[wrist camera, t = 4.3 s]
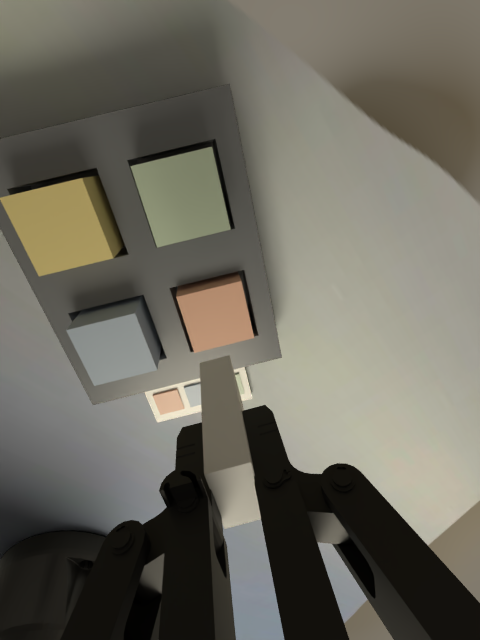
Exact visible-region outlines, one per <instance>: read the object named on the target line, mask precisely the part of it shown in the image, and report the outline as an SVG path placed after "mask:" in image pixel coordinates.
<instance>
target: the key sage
mask: <svg viewBox="0 0 480 640" xmlns="http://www.w3.org/2000/svg"><path fill="white" fill-rule="evenodd" d="M130 167H131V170H132V173H133V176H134V179H135V182H136V185H137V188H138V191H139V194H140V197H141V200H142V203H143V206H144V209H145V212H146V215H147V218H148V221H149V224H150V227H151V231H152V234H153V237H154V240H155V243H156V246H157V248H158V247H162V246H166V245H170V244H174V243H178V242H182V241H186V240H190V239H194V238H198V237H202V236H207V235H211V234H215V233H219V232H223V231H227V230H231V229H230V224H229V220H228V215H227V211H226V206H225V202H224V198H223V193H222V189H221V184H220V180H219V175H218V171H217V166H216V162H215V158H214V153H213V149H212V147H208V148H204V149H200V150H196V151H192V152H187V153H183V154H179V155H175V156H171V157H167V158H163V159H158V160H154V161H150V162H146V163H142V164H138V165H134V166H130Z"/></svg>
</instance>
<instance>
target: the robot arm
mask: <svg viewBox="0 0 480 640" xmlns="http://www.w3.org/2000/svg"><path fill="white" fill-rule="evenodd" d="M200 385H201V409H202V423H198V424H194V425H190V426H186V427H183V428H182V429H181V431H180V433H179V435H178V437H177V448H176V449H177V450H176V467H175V471H173V472H171V473H170V474H169V475H168V476H166V478H165V479H164V481H163V482H162V483H161V487H160V490H159V491H160V494H161V496H162V498H163V500H164V502H165V504H166V506H167V508H166V509H165V510H164V511H163V512H162V513H160V514H159V515H158V516H156V517H155V518H153V519H151V520H149V521H148V522H146V523H144V524H143V525H142V524H141V523H140V522H139V521H134V520H130V521H126V522H123V523H121V524H119V525H118V526H116V527H115V528H114V529H113V530H112V531H111V532H110V533H109V534H108V535H107V537H103V536H100V535H96V534H91V533H86V532H76V531H61V532H51V533H45V534H41V535H37V536H34V537H31V538H28V539H26V540H23V541H21V542H19V543H18V544H16V545H14V546H13V547H12V548H10V549H9V550H8V551H7V552H6V553H5V554H4V555H3V557H2V558H1V560H0V640H158V639H159V640H236V637H235V626H234V616H233V606H232V595H231V585H230V574H229V564H228V553H227V545H226V542H225V539H224V536H223V528H222V523H223V526H224V528H225V529H226V528H230V527H233V526H237V525H241V524H244V523H248V522H252V521H255V520H259V519H261V521H262V526H263V531H264V536H265V541H266V546H267V551H268V557H269V562H270V567H271V572H272V577H273V582H274V587H275V593H276V598H277V603H278V608H279V613H280V618H281V623H282V628H283V634H284V639H285V640H349V638H348V635H347V632H346V628H345V625H344V622H343V619H342V616H341V613H340V610H339V607H338V604H337V601H336V598H335V595H334V592H333V589H332V586H331V583H330V580H329V577H328V574H327V571H326V568H325V565H324V562H323V559H322V556H321V553H320V550H319V547H318V544H317V542H320V543H331V544H333V546H334V547H335V549H336V551H337V552H338V554H339V555H340V557H341V558H342V560H343V561H344V563H345V565H346V566H347V568H348V569H349V571H350V572H351V574H352V575H353V577H354V579H355V580H356V582H357V583H358V585H359V586H360V588H361V589H362V591H363V592H364V594H365V596H366V597H367V599H368V600H369V602H370V603H371V605H372V606H373V608H374V610H375V611H376V613H377V614H378V615H379V617H380V619H381V620H382V622H383V624H384V625H385V626H386V628H387V630H388V631H389V633H390V634H391V636H392V637H393V639H394V640H480V603H479V602H478V601H477V600H476V598H475V597H474V596H473V595H472V594H471V593H470V592H469V591H468V590H467V588H466V587H465V586H464V585H463V584H462V583H461V582H460V581H459V580H458V579H457V578H456V576H455V575H454V574H453V573H452V572H451V571H450V570H449V569H448V568H447V566H446V565H445V564H444V563H443V562H442V561H441V560H440V559H439V558H438V557H437V555H436V554H435V553H434V552H433V551H432V550H431V549H430V548H429V547H428V546H427V544H426V543H425V542H424V541H423V540H422V539H421V538H420V537H419V536H418V534H417V533H416V532H415V531H414V530H413V529H412V528H411V527H410V526H409V525H408V523H407V522H406V521H405V520H404V519H403V518H402V517H401V516H400V515H399V514H398V512H397V511H396V510H395V509H394V508H393V507H392V506H391V505H390V504H389V503H388V501H387V500H386V499H385V498H384V497H383V496H382V495H381V494H380V493H379V492H378V490H377V489H376V488H375V487H374V486H373V485H372V484H371V483H370V482H369V480H368V479H367V478H366V477H365V476H364V475H363V474H362V473H361V472H360V471H359V470H358V469H356V468H355V467H354V466H351V465H348V464H338V463H337V464H334V465H331V466H329V467H328V468H326V469H325V470H324V471H323V473H322V474H309V473H304V472H301V471H299V470H297V469H296V468H294V467H293V466H292V465H291V464H290V462H289V460H288V457H287V454H286V451H285V448H284V445H283V442H282V439H281V436H280V433H279V430H278V427H277V424H276V421H275V418H274V415H273V412H272V411H271V410H270V409H269V408H268V407H267V406H266V405H263V406H259V407H256V408H252V409H248V410H244V408H243V404H242V399H241V395H240V392H239V388H238V384H237V381H236V377H235V373H234V370H233V366H232V362H231V358H230V355H228V356H224V357H221V358H217V359H213V360H209V361H205V362H201V363H200Z"/></svg>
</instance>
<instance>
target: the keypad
mask: <svg viewBox="0 0 480 640" xmlns="http://www.w3.org/2000/svg"><path fill="white" fill-rule="evenodd" d="M208 147H212V149H213V153H214V158H215V162H216V166H217V171H218V175H219V180H220V184H221V189H222V193H223V198H224V202H225V206H226V211H227V215H228V220H229V224H230V229H231V230H227V231H223V232H219V233H215V234H211V235H207V236H202V237H198V238H194V239H190V240H186V241H182V242H178V243H174V244H170V245H166V246H162V247H158V248H157V246H156V243H155V240H154V237H153V234H152V231H151V227H150V224H149V221H148V218H147V215H146V212H145V209H144V206H143V203H142V200H141V197H140V194H139V191H138V188H137V185H136V182H135V179H134V176H133V173H132V170H131V167H130V166H134V165H138V164H142V163H146V162H150V161H154V160H158V159H163V158H167V157H171V156H175V155H179V154H183V153H187V152H192V151H196V150H200V149H204V148H208ZM92 176H99V177H100V180H101V182H102V185H103V188H104V190H105V193H106V196H107V199H108V201H109V204H110V207H111V209H112V212H113V215H114V217H115V220H116V223H117V226H118V228H119V231H120V234H121V236H122V239H123V242H124V244H125V245H124V246H123V248H122V249H121V250H120V251H119V252H118V254H117V255H116V256H115V257H114V258H113V259H109V260H105V261H100V262H96V263H92V264H88V265H84V266H80V267H76V268H72V269H68V270H64V271H60V272H56V273H51V274H47V275H43V276H38V274H37V272H36V270H35V268H34V266H33V264H32V262H31V260H30V258H29V256H28V254H27V252H26V250H25V248H24V246H23V244H22V242H21V240H20V238H19V236H18V234H17V232H16V230H15V228H14V226H13V224H12V222H11V220H10V218H9V216H8V214H7V212H6V210H5V208H4V206H3V204H2V202H1V200H0V229H1V230H2V232H3V234H4V236H5V238H6V240H7V242H8V244H9V246H10V248H11V250H12V251H13V253H14V255H15V257H16V259H17V261H18V263H19V265H20V267H21V269H22V271H23V272H24V274H25V276H26V278H27V280H28V282H29V284H30V286H31V288H32V290H33V292H34V293H35V295H36V297H37V299H38V301H39V303H40V305H41V307H42V309H43V311H44V313H45V314H46V316H47V318H48V320H49V322H50V324H51V326H52V328H53V330H54V332H55V334H56V336H57V337H58V339H59V341H60V343H61V345H62V347H63V349H64V351H65V353H66V355H67V357H68V358H69V360H70V362H71V364H72V366H73V368H74V370H75V372H76V374H77V376H78V378H79V379H80V381H81V383H82V385H83V387H84V389H85V391H86V393H87V395H88V397H89V399H90V400H91V402H92V404H93V405H95V404H99V403H103V402H107V401H111V400H115V399H119V398H123V397H127V396H131V395H135V394H139V393H143V392H147V391H151V390H155V389H159V388H163V387H167V386H171V385H175V384H179V383H183V382H187V381H191V380H195V379H198V378H200V363H201V362H205V361H209V360H213V359H217V358H221V357H224V356H228V355H230V358H231V362H232V366H233V370H234V369H238V368H242V367H246V366H250V365H254V364H258V363H262V362H266V361H270V360H274V359H278V358H282V355H281V350H280V345H279V340H278V334H277V329H276V324H275V319H274V313H273V308H272V303H271V298H270V292H269V287H268V282H267V277H266V271H265V266H264V261H263V256H262V250H261V245H260V240H259V235H258V229H257V224H256V219H255V214H254V208H253V203H252V198H251V193H250V187H249V182H248V177H247V172H246V166H245V161H244V156H243V151H242V145H241V140H240V135H239V130H238V124H237V119H236V114H235V109H234V103H233V98H232V93H231V88H230V84H227V85H223V86H219V87H214V88H210V89H206V90H202V91H198V92H193V93H189V94H185V95H181V96H177V97H172V98H168V99H164V100H160V101H156V102H151V103H147V104H143V105H139V106H135V107H130V108H126V109H122V110H118V111H114V112H109V113H105V114H101V115H97V116H93V117H88V118H84V119H80V120H76V121H72V122H67V123H63V124H59V125H55V126H51V127H46V128H42V129H38V130H34V131H30V132H25V133H21V134H17V135H13V136H9V137H4V138H0V198H1V197H5V196H9V195H13V194H17V193H21V192H26V191H30V190H34V189H38V188H42V187H46V186H51V185H55V184H59V183H63V182H67V181H71V180H75V179H80V178H85V177H92ZM237 271H238V274H239V276H240V279H241V281H242V286H243V290H244V295H245V299H246V303H247V308H248V312H249V317H250V321H251V326H252V330H253V334H254V338H252V339H248V340H244V341H240V342H237V343H233V344H229V345H225V346H221V347H217V348H213V349H209V350H205V351H201V352H197V353H194V350H193V347H192V344H191V341H190V338H189V335H188V332H187V329H186V326H185V323H184V320H183V316H182V313H181V310H180V307H179V304H178V301H177V298H176V295H177V288H178V286H180V285H184V284H189V283H193V282H197V281H201V280H205V279H209V278H213V277H217V276H221V275H225V274H229V273H233V272H237ZM140 295H143V296H144V298H145V301H146V304H147V307H148V309H149V312H150V315H151V317H152V320H153V323H154V325H155V328H156V331H157V334H158V336H159V339H160V342H161V344H162V347H161V353H160V358H159V364H158V369H157V370H156V371H152V372H148V373H144V374H140V375H136V376H132V377H128V378H124V379H120V380H116V381H112V382H108V383H104V384H100V385H96V386H94V384H93V383H92V381H91V379H90V377H89V375H88V373H87V371H86V369H85V367H84V365H83V363H82V361H81V359H80V357H79V355H78V353H77V351H76V349H75V347H74V345H73V343H72V341H71V339H70V337H69V335H68V333H67V331H66V330H67V329H68V327H69V326H70V325H71V323H72V322H73V321H74V319H75V318H76V317H77V316H78V314H79V313H80V312H81V310H83V309H87V308H91V307H95V306H100V305H104V304H108V303H112V302H116V301H120V300H124V299H128V298H132V297H136V296H140Z"/></svg>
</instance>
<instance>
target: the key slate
mask: <svg viewBox="0 0 480 640" xmlns="http://www.w3.org/2000/svg"><path fill="white" fill-rule="evenodd" d="M66 331H67V333H68V335H69V337H70V339H71V341H72V343H73V345H74V347H75V349H76V351H77V353H78V355H79V357H80V359H81V361H82V363H83V365H84V367H85V369H86V371H87V373H88V375H89V377H90V379H91V381H92V383H93V384H94V386H96V385H100V384H104V383H108V382H112V381H116V380H120V379H124V378H128V377H132V376H136V375H140V374H144V373H148V372H152V371H156V370H157V369H158V364H159V358H160V353H161V347H162V344H161V342H160V339H159V336H158V334H157V331H156V328H155V325H154V323H153V320H152V317H151V315H150V312H149V309H148V307H147V304H146V301H145V298H144V296H143V295H140V296H136V297H132V298H128V299H124V300H120V301H116V302H112V303H108V304H104V305H100V306H95V307H91V308H87V309H83V310H81V312H80V313H79V314H78V316H77V317H76V318H75V319H74V321H73V322H72V323H71V325H70V326H69V327H68V329H67V330H66Z"/></svg>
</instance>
